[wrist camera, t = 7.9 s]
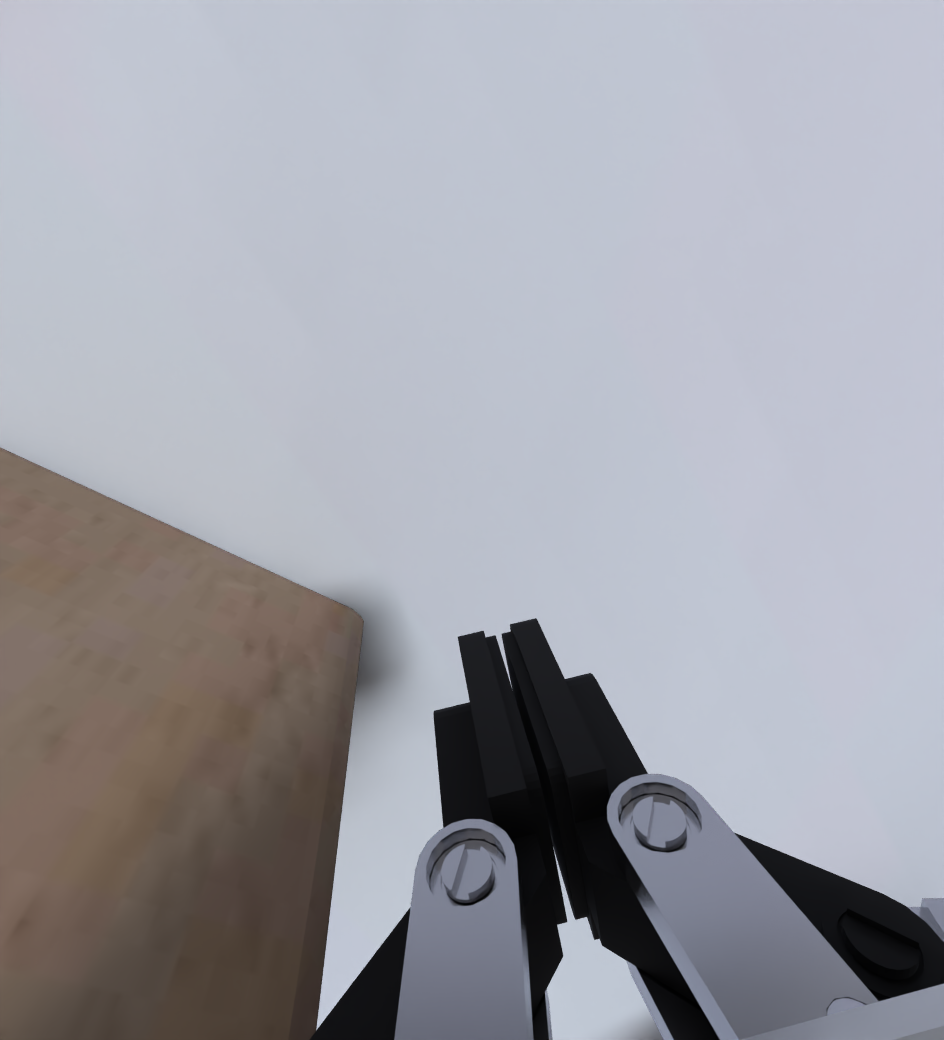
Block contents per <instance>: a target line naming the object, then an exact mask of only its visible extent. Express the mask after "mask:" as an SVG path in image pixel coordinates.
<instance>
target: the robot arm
mask: <svg viewBox="0 0 944 1040" xmlns="http://www.w3.org/2000/svg"><path fill="white" fill-rule="evenodd" d="M510 629H511V632H507V633H503V634H502V639H503V644H504V649H505V654H506V660H507V665H508V670H509V675H510V680H511V684H510V681H509V678H508V674H507V671H506V668H505V665H504V661H503V658H502V655H501V652H500V648H499V645H498V642H497V639H496V636H490V637H486V638H485V634H484V631H480V632H476V633H472V634H467V635H463V636H459V637H458V641H459V646H460V652H461V657H462V662H463V668H464V673H465V678H466V684H467V689H468V694H469V700H470V702H469V703H465V704H461V705H457V706H452V707H448V708H444V709H440V710H436V711H434V726H435V737H436V748H437V760H438V771H439V782H440V794H441V805H442V816H443V827H444V828H443V829H441V830H439V831H438V832H437V833H436V834H435V835H434V836H433V837H432V838H431V839H430V840H429V841H428V842H427V843H426V845H425V847H424V848H423V850H422V852H421V853H420V855H419V859H418V862H417V866H416V869H415V876H414V884H413V893H412V901H411V907H410V909H409V910H408V911H407V912H406V914H405V915H404V916H403V918H402V919H401V920H400V922H399V923H398V924H397V926H396V927H395V928H394V929H393V931H392V932H391V933H390V935H389V936H388V937H387V939H386V940H385V941H384V943H383V944H382V945H381V947H380V948H379V949H378V950H377V952H376V953H375V954H374V956H373V957H372V958H371V960H370V961H369V962H368V964H367V965H366V966H365V968H364V969H363V970H362V971H361V973H360V974H359V975H358V977H357V978H356V979H355V981H354V982H353V983H352V985H351V986H350V987H349V989H348V990H347V991H346V992H345V994H344V995H343V996H342V998H341V999H340V1000H339V1002H338V1003H337V1004H336V1006H335V1007H334V1008H333V1009H332V1011H331V1012H330V1013H329V1015H328V1016H327V1017H326V1019H325V1020H324V1021H323V1023H322V1024H321V1025H320V1027H319V1028H318V1029H317V1030H316V1032H315V1033H314V1034H313V1036H312V1037H311V1038H310V1040H552V1029H551V1018H550V1007H549V998H548V994H547V987H548V985H549V983H550V981H551V979H552V977H553V975H554V973H555V971H556V969H557V967H558V965H559V963H560V961H561V959H562V957H563V952H562V947H561V942H560V937H559V933H558V928H557V925H558V924H562V923H565V922H567V917H566V912H565V907H564V902H563V896H562V891H561V886H560V880H559V875H558V870H557V865H556V859H555V854H556V857H557V861H558V864H559V867H560V871H561V874H562V877H563V881H564V884H565V888H566V891H567V894H568V898H569V901H570V905H571V908H572V911H573V915H574V917H575V920H576V919H580V918H584V917H587V918H588V921H589V924H590V927H591V931H592V934H593V937H594V940H596V939H600V941H601V944H602V946H604V947H605V948H607V949H609V950H610V951H612V952H614V953H615V954H617V955H618V956H620V957H622V958H623V959H625V960H626V961H627V964H628V967H629V970H630V973H631V976H632V978H633V980H634V982H635V984H636V986H637V988H638V990H639V992H640V994H641V996H642V998H643V1000H644V1002H645V1004H646V1006H647V1008H648V1010H649V1012H650V1014H651V1016H652V1018H653V1020H654V1022H655V1024H656V1026H657V1028H658V1029H659V1031H660V1033H661V1035H662V1037H663V1039H664V1040H944V898H922V903H921V907H906V906H905V905H903V904H901V903H899V902H897V901H895V900H893V899H891V898H890V897H888V896H886V895H884V894H882V893H879V892H877V891H874V890H872V889H870V888H867V887H865V886H862V885H860V884H857V883H855V882H853V881H850V880H848V879H845V878H843V877H840V876H838V875H836V874H833V873H831V872H828V871H826V870H823V869H821V868H819V867H816V866H814V865H811V864H809V863H806V862H804V861H802V860H799V859H797V858H794V857H792V856H789V855H787V854H785V853H782V852H780V851H777V850H775V849H772V848H770V847H768V846H765V845H763V844H760V843H758V842H755V841H753V840H751V839H748V838H746V837H743V836H741V835H739V834H736V833H734V832H733V831H732V830H731V829H730V828H729V826H728V825H727V824H726V823H725V822H724V821H723V819H722V818H721V817H720V816H719V815H718V814H717V812H716V811H715V810H714V809H713V808H712V807H711V805H710V804H709V803H708V802H707V801H706V800H705V798H704V797H703V796H702V795H701V794H699V793H698V792H697V791H696V790H695V789H694V788H693V787H692V786H690V785H689V784H687V783H685V782H683V781H681V780H679V779H677V778H674V777H670V776H666V775H662V774H648V773H647V771H646V769H645V768H644V766H643V764H642V762H641V760H640V758H639V757H638V755H637V753H636V751H635V749H634V748H633V746H632V744H631V742H630V740H629V738H628V737H627V735H626V733H625V731H624V729H623V728H622V726H621V724H620V722H619V720H618V719H617V717H616V715H615V713H614V711H613V709H612V708H611V706H610V704H609V702H608V700H607V699H606V697H605V695H604V693H603V691H602V689H601V688H600V686H599V684H598V682H597V680H596V679H595V677H594V676H593V675H592V674H591V673H589V674H584V675H580V676H576V677H572V678H568V679H564V677H563V674H562V672H561V670H560V668H559V666H558V664H557V662H556V659H555V657H554V655H553V653H552V651H551V649H550V646H549V644H548V642H547V640H546V638H545V636H544V634H543V631H542V629H541V627H540V625H539V623H538V621H537V619H536V618H535V619H531V620H527V621H523V622H518V623H514V624H510ZM511 685H512V687H511ZM512 690H513V691H512ZM553 847H554V849H553ZM554 850H555V854H554Z"/></svg>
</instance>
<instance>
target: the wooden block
mask: <svg viewBox="0 0 944 1040" xmlns="http://www.w3.org/2000/svg"><path fill="white" fill-rule="evenodd" d="M363 623H364V621H363V619H362V618H361V616H360V615H359V614H357V613H356V612H355V611H354V610H353V609H351V608H349V607H347V606H345V605H342V604H340V603H338V602H336V601H334V600H331V599H329V598H327V597H325V596H323V595H321V594H318V593H316V592H314V591H312V590H310V589H307V588H305V587H303V586H301V585H299V584H297V583H294V582H292V581H290V580H288V579H286V578H283V577H281V576H279V575H277V574H275V573H273V572H270V571H268V570H266V569H264V568H262V567H260V566H257V565H255V564H253V563H251V562H249V561H246V560H244V559H242V558H240V557H238V556H236V555H233V554H231V553H229V552H227V551H225V550H222V549H220V548H218V547H216V546H214V545H212V544H209V543H207V542H205V541H203V540H201V539H198V538H196V537H194V536H192V535H190V534H188V533H185V532H183V531H181V530H179V529H177V528H174V527H172V526H170V525H168V524H166V523H164V522H161V521H159V520H157V519H155V518H153V517H150V516H148V515H146V514H144V513H142V512H140V511H137V510H135V509H133V508H131V507H129V506H126V505H124V504H122V503H120V502H118V501H116V500H113V499H111V498H109V497H107V496H105V495H102V494H100V493H98V492H96V491H94V490H92V489H89V488H87V487H85V486H83V485H81V484H78V483H76V482H74V481H72V480H70V479H68V478H65V477H63V476H61V475H59V474H57V473H54V472H52V471H50V470H48V469H46V468H44V467H41V466H39V465H37V464H35V463H33V462H30V461H28V460H26V459H24V458H22V457H20V456H17V455H15V454H13V453H11V452H9V451H6V450H4V449H2V448H0V1040H310V1038H311V1037H312V1036H313V1034H314V1033H315V1032H316V1027H317V1018H318V1010H319V1001H320V993H321V984H322V976H323V967H324V958H325V950H326V941H327V933H328V924H329V916H330V907H331V898H332V890H333V881H334V873H335V864H336V855H337V847H338V838H339V830H340V821H341V813H342V804H343V795H344V787H345V778H346V770H347V761H348V752H349V744H350V735H351V727H352V718H353V710H354V701H355V692H356V684H357V675H358V667H359V658H360V649H361V641H362V632H363Z"/></svg>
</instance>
